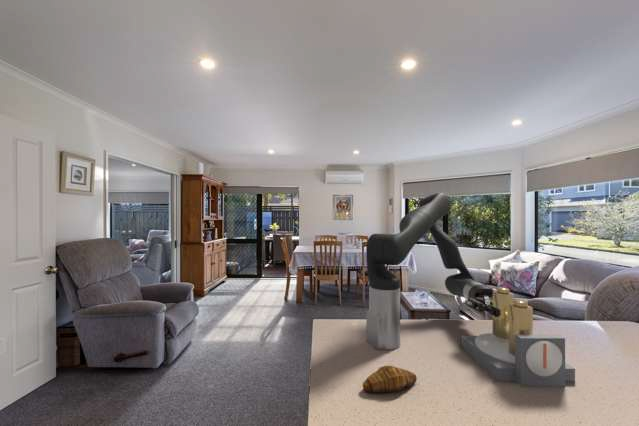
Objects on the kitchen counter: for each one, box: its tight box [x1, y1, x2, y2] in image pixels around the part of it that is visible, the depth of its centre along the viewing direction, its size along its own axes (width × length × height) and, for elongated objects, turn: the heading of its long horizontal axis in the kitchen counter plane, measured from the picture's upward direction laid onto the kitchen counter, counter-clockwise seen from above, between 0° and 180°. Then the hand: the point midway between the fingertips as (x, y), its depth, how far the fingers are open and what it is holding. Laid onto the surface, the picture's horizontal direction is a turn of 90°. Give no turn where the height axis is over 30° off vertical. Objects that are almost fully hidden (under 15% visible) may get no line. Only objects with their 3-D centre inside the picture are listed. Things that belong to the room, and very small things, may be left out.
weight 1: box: [491, 286, 515, 339], centre depth 81 cm, size 5×5×13 cm
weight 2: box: [509, 299, 534, 356], centre depth 73 cm, size 5×5×13 cm
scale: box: [460, 332, 576, 388], centre depth 75 cm, size 18×21×11 cm
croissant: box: [362, 365, 418, 394], centre depth 65 cm, size 14×7×5 cm, turn 108°
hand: (508, 313), depth 78 cm, fingers closed on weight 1, 5 cm apart
